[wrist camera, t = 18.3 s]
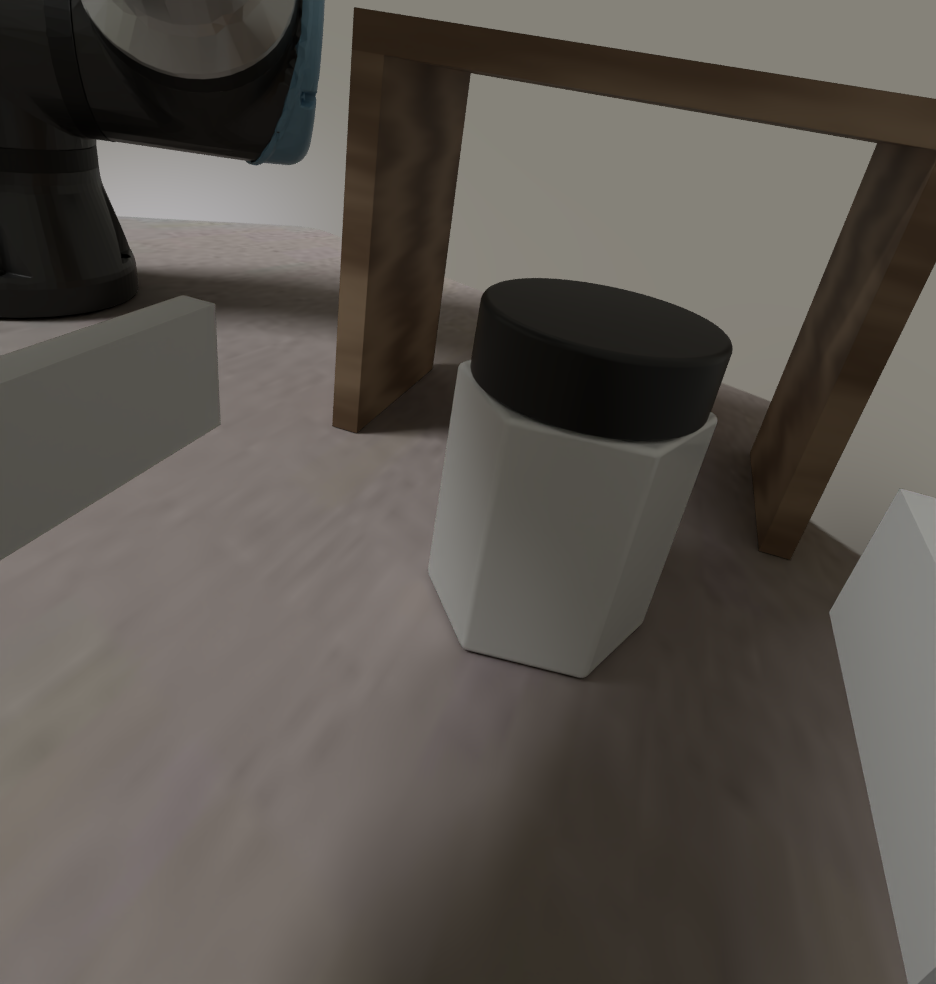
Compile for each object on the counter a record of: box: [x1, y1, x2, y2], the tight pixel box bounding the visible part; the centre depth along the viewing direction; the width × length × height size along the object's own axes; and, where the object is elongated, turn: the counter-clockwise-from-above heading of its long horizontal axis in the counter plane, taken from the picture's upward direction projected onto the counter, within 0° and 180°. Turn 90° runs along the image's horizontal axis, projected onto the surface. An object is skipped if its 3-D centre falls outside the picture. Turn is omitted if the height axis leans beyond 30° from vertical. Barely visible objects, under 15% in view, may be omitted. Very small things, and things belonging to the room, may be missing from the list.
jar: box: [428, 278, 732, 678], centre depth 25 cm, size 9×8×12 cm
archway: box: [332, 7, 936, 560], centre depth 36 cm, size 12×25×20 cm, turn 71°
